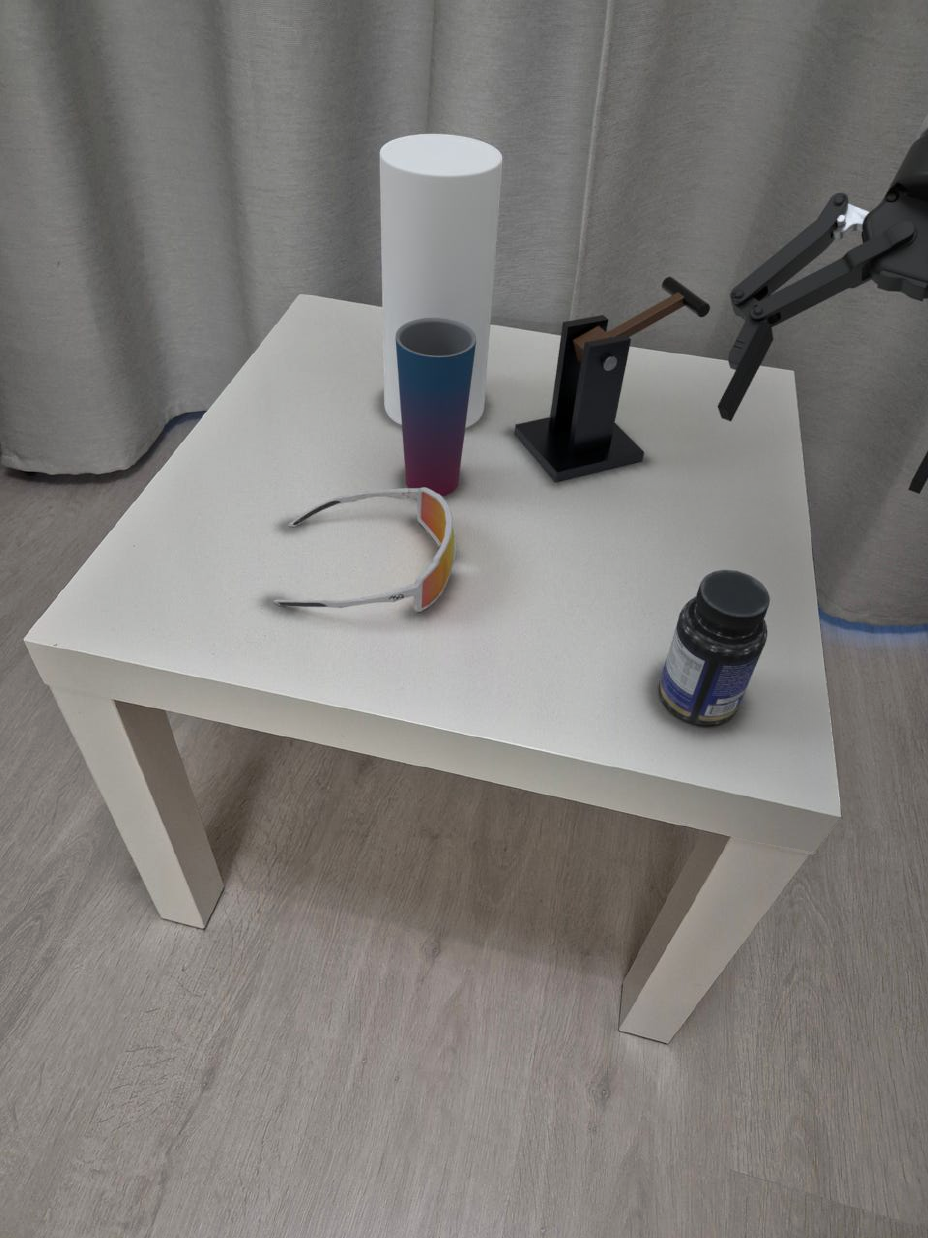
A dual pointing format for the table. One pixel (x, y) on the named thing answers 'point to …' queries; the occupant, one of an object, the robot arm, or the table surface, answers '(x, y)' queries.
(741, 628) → the pill bottle
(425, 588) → the sunglasses
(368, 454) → the table surface
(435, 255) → the tall pillar cylinder
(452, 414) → the cup
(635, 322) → the lever
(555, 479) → the bracket
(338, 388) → the table surface
